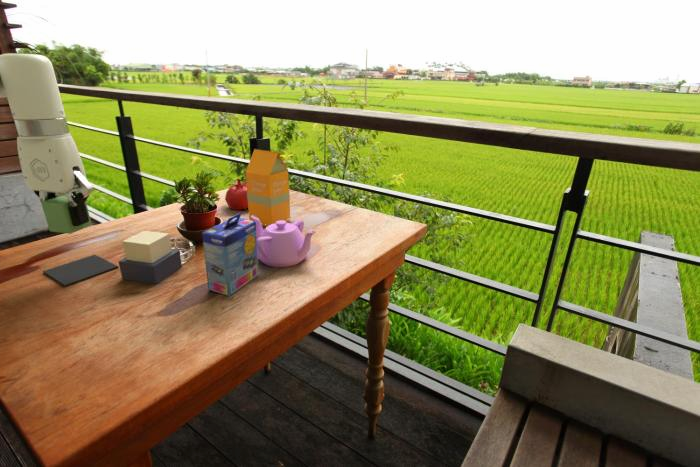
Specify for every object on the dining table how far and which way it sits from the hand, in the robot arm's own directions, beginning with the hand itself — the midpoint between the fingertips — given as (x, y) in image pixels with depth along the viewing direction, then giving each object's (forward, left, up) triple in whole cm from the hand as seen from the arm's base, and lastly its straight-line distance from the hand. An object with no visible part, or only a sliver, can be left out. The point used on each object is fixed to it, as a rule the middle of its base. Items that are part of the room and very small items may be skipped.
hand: (69, 221), depth 77 cm
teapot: (+30, +29, -11) cm, 43 cm away
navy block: (+13, +8, -11) cm, 19 cm away
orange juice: (+10, +45, -11) cm, 47 cm away
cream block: (+13, +8, -7) cm, 17 cm away
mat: (0, 0, -11) cm, 11 cm away
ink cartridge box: (+30, +15, -11) cm, 35 cm away
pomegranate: (-6, +49, -11) cm, 51 cm away
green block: (0, 0, -1) cm, 1 cm away
